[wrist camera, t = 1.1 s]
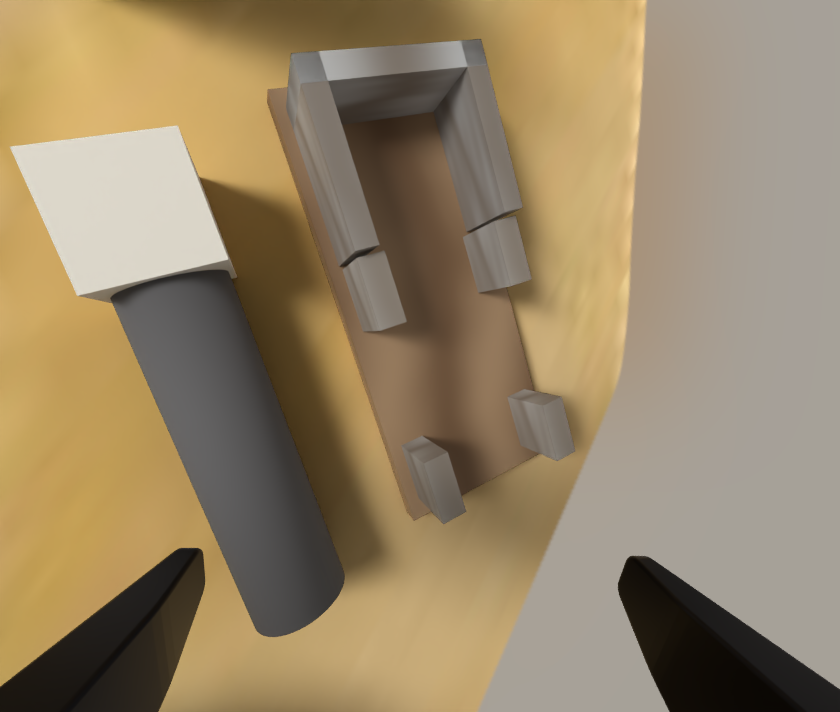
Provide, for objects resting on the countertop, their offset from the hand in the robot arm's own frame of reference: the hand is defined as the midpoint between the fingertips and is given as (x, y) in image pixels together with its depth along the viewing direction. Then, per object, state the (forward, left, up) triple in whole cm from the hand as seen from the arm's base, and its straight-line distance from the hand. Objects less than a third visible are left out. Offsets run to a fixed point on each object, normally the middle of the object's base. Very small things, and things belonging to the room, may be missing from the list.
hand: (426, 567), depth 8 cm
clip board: (+7, +5, -12) cm, 15 cm away
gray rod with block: (-4, +4, -12) cm, 13 cm away
